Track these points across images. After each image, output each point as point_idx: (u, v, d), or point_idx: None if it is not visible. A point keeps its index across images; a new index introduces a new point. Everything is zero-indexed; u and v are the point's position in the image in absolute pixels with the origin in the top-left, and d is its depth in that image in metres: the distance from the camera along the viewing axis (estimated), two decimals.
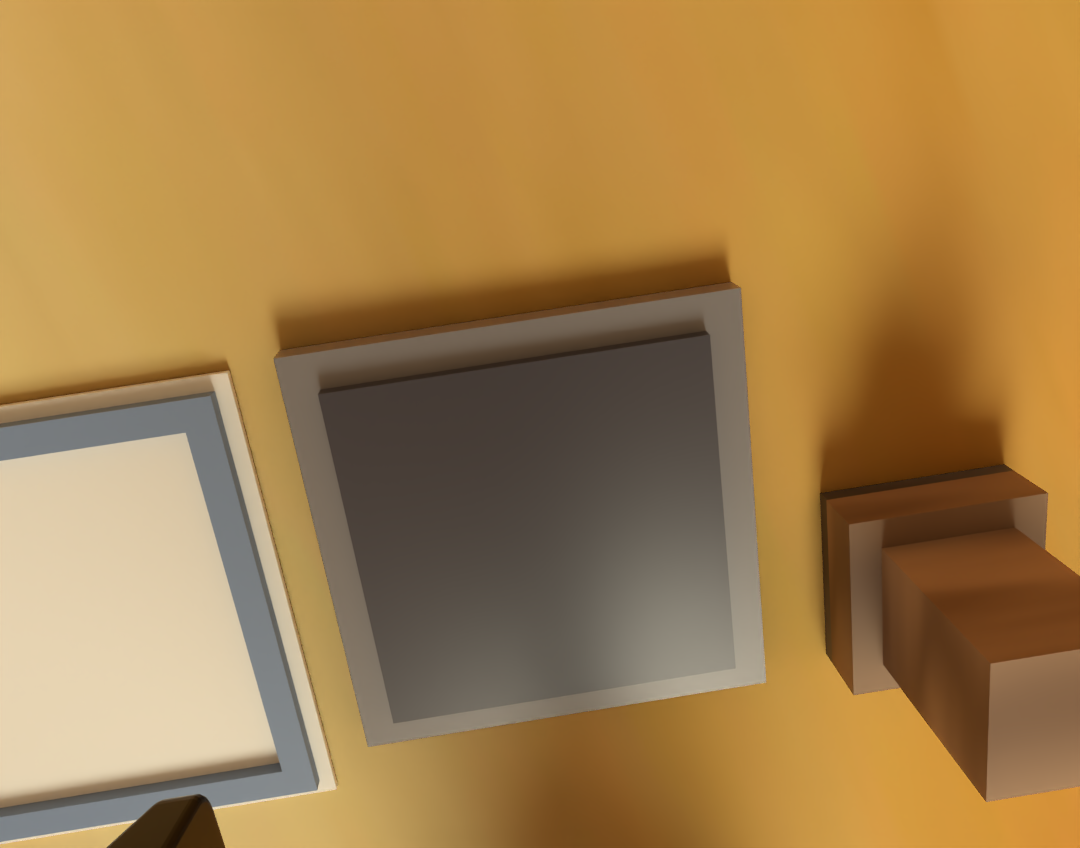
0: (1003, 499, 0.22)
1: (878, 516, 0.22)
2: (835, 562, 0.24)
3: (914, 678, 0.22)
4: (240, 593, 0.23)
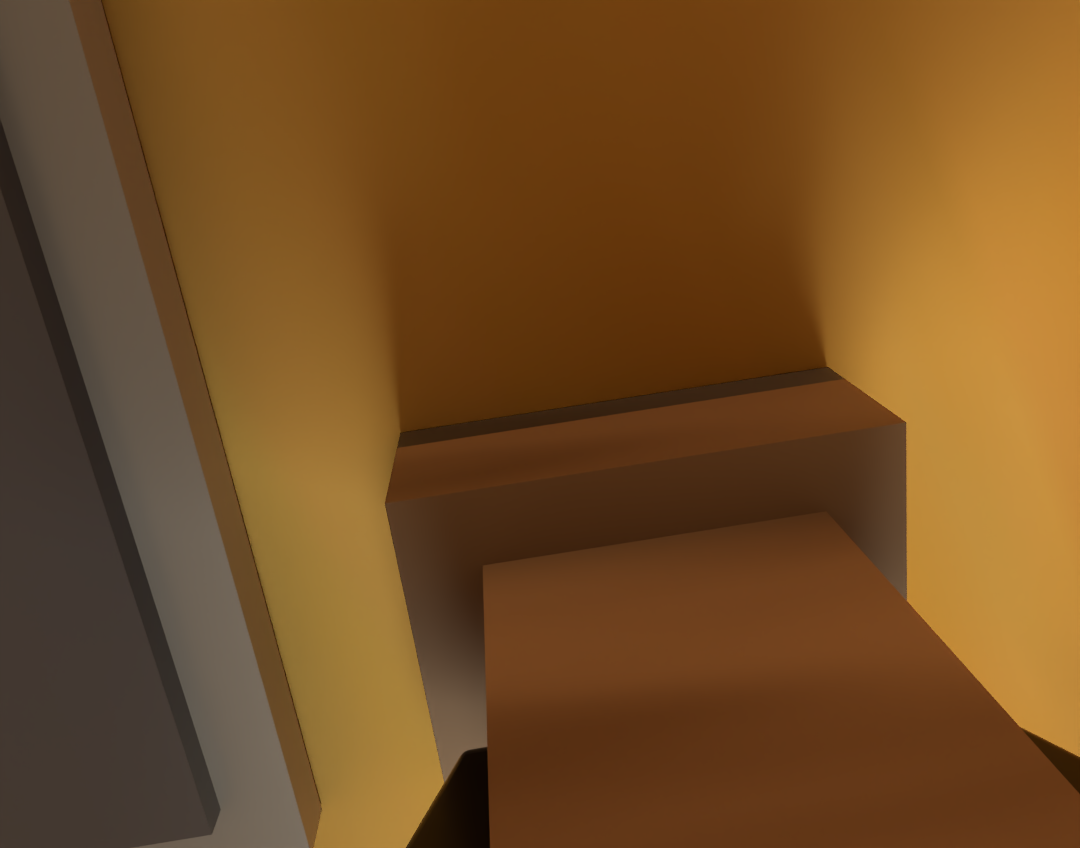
0: (791, 439, 0.09)
1: (471, 482, 0.09)
2: None
3: None
4: None
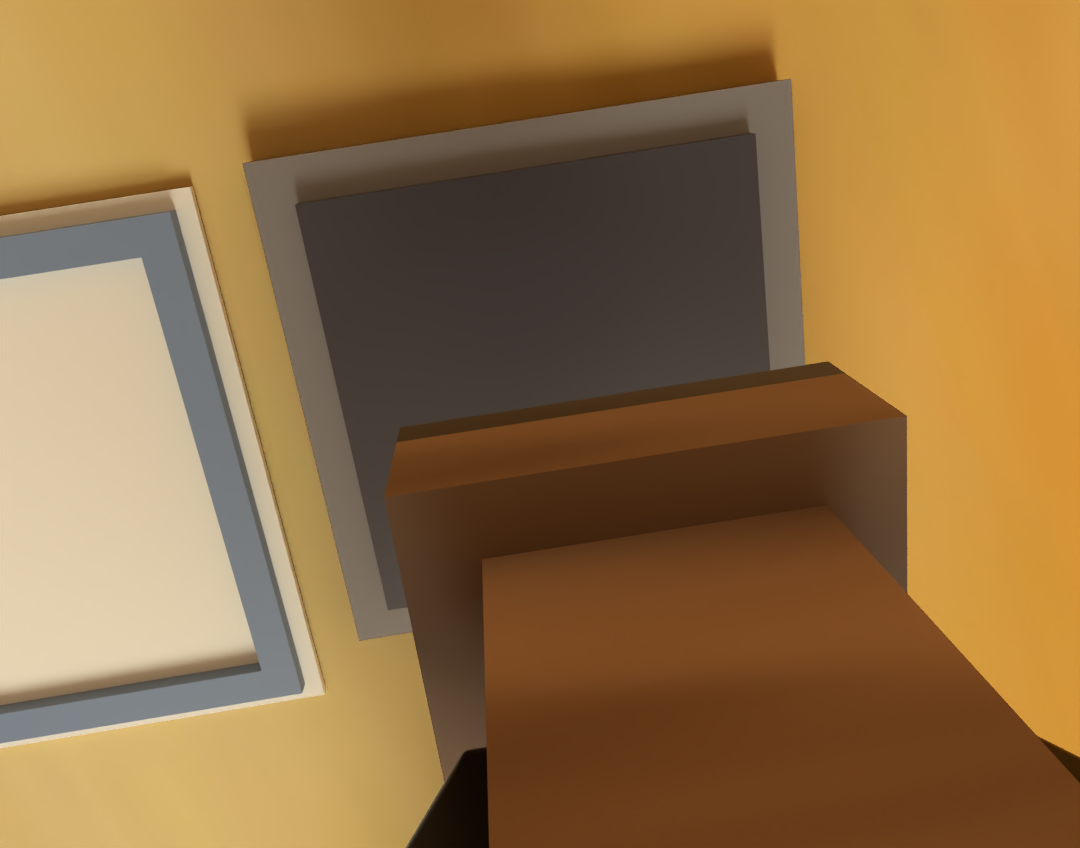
0: (791, 432, 0.09)
1: (471, 476, 0.09)
2: None
3: None
4: (210, 455, 0.20)
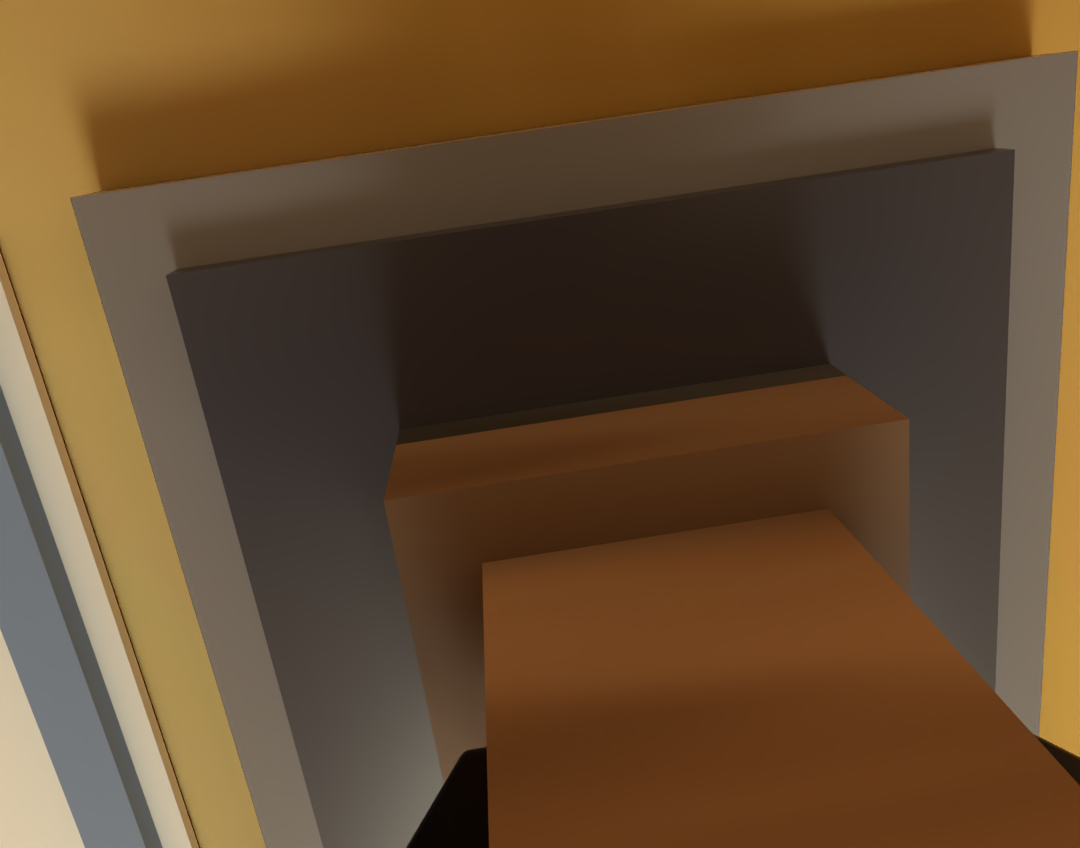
0: (793, 435, 0.09)
1: (470, 479, 0.09)
2: None
3: None
4: (41, 687, 0.12)
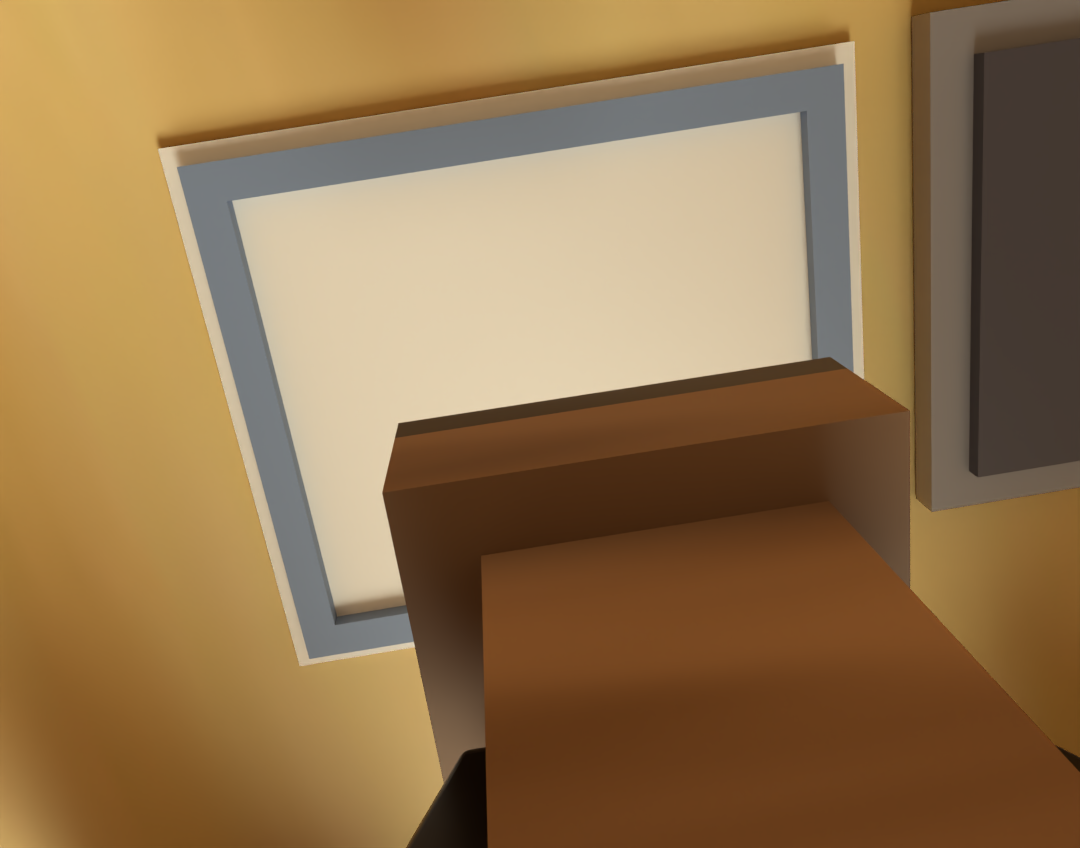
0: (793, 427, 0.09)
1: (469, 471, 0.09)
2: None
3: None
4: (826, 318, 0.20)
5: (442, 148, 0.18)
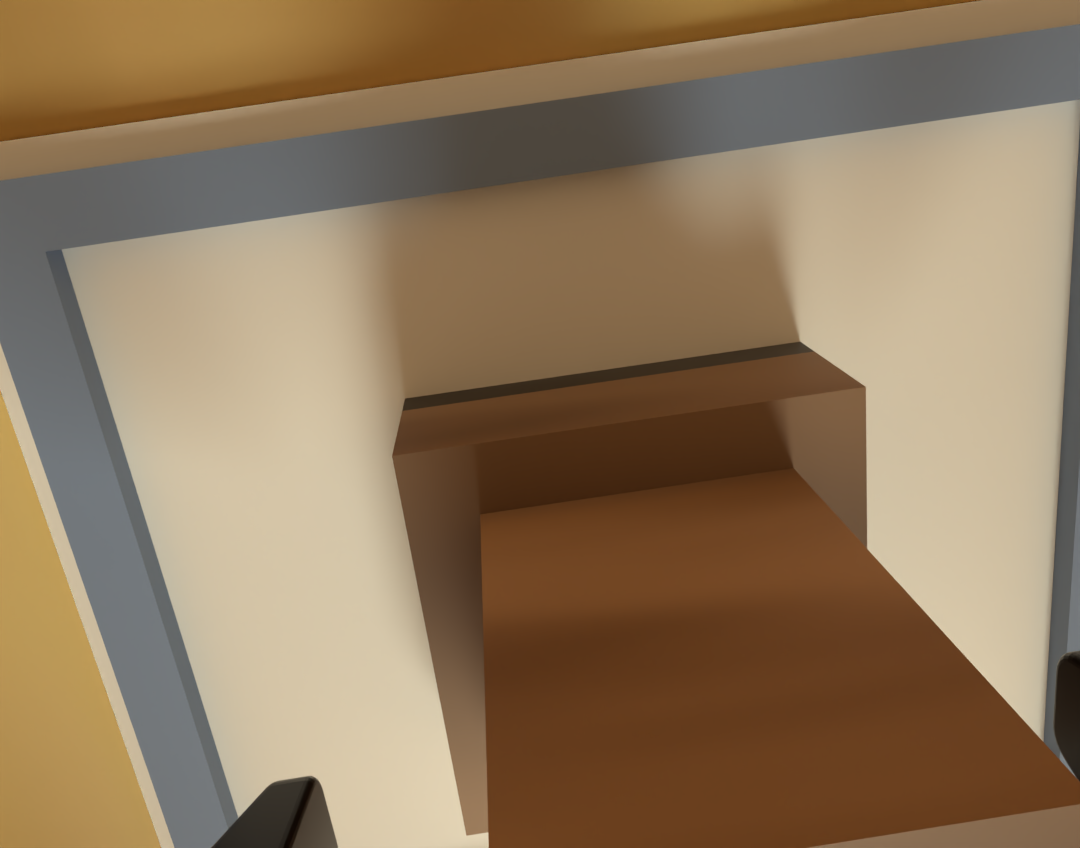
0: (761, 401, 0.10)
1: (469, 438, 0.10)
2: None
3: None
4: None
5: (443, 158, 0.10)
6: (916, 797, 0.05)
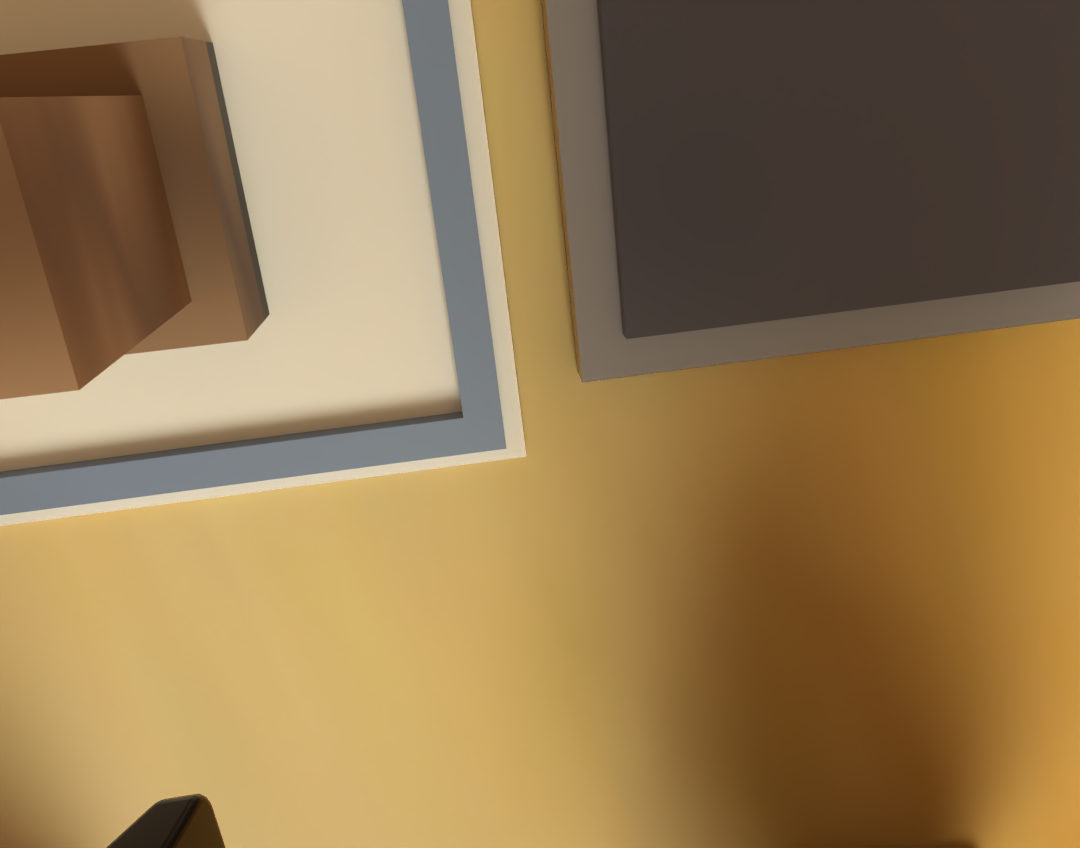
0: (111, 44, 0.14)
1: None
2: None
3: None
4: (434, 135, 0.17)
5: None
6: None
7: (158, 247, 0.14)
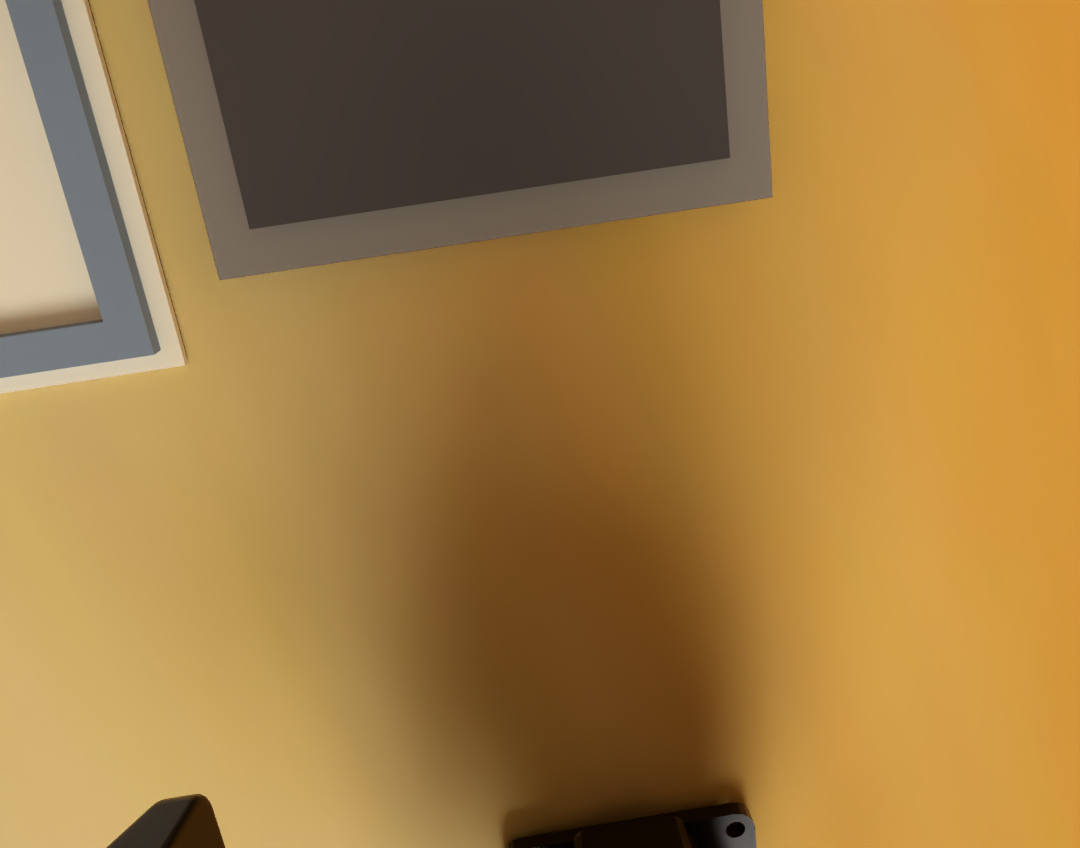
0: None
1: None
2: None
3: None
4: (24, 17, 0.16)
5: None
6: None
7: None
